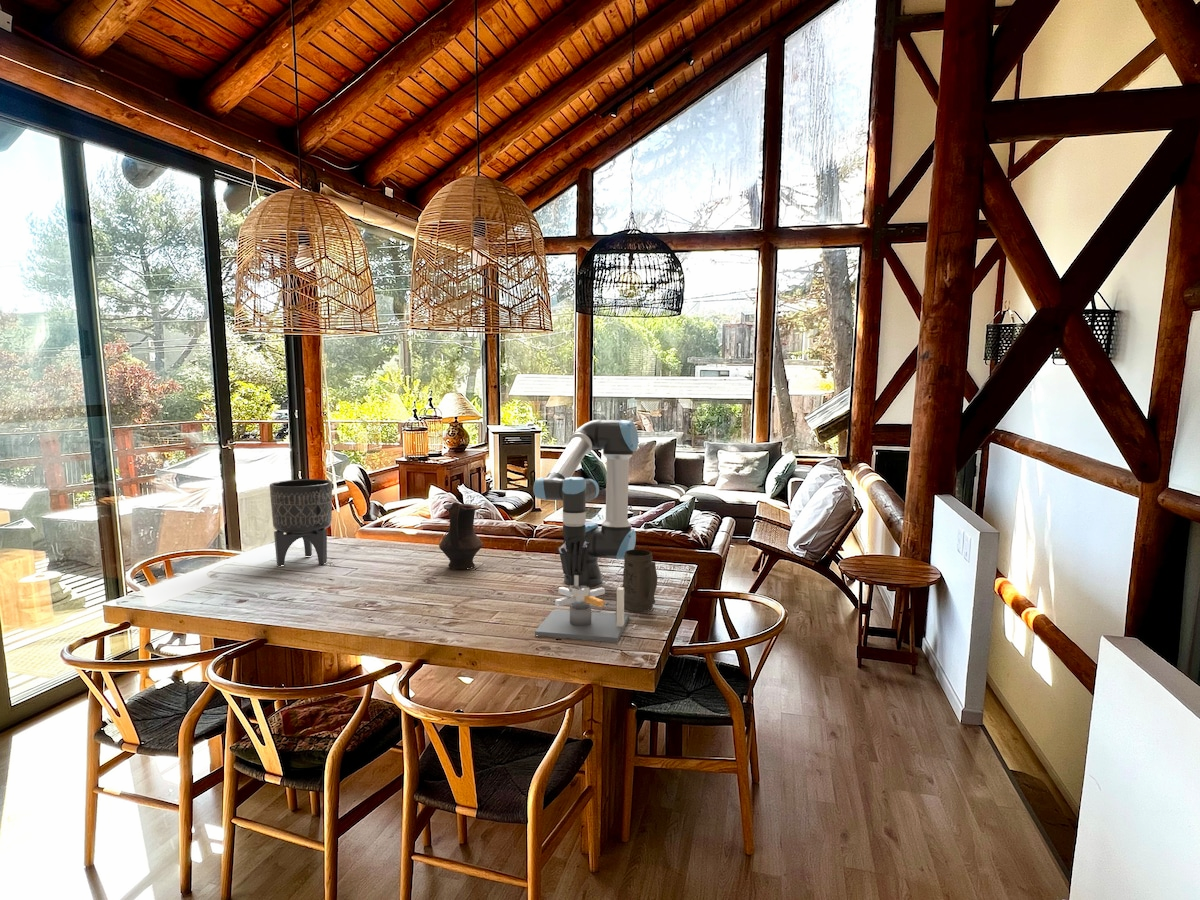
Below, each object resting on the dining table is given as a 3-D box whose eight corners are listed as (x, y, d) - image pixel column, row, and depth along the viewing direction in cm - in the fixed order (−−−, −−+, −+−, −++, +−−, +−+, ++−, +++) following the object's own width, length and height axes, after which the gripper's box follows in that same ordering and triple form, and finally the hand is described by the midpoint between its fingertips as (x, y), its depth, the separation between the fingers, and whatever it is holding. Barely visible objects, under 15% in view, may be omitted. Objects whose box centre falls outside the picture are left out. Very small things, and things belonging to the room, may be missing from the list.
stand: (553, 613, 233) (553, 574, 232) (628, 618, 228) (629, 579, 226) (534, 636, 211) (534, 593, 210) (617, 642, 206) (617, 599, 205)
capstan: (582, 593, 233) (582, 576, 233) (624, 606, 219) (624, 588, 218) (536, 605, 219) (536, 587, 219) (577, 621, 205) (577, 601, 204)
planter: (283, 573, 282) (280, 488, 279) (264, 561, 301) (261, 482, 298) (343, 563, 299) (341, 483, 296) (322, 552, 318) (319, 477, 314)
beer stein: (614, 605, 241) (617, 551, 238) (635, 599, 248) (638, 546, 246) (647, 619, 230) (650, 562, 227) (667, 611, 238) (671, 556, 235)
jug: (445, 561, 302) (444, 494, 300) (487, 562, 302) (486, 495, 299) (432, 574, 281) (430, 502, 279) (476, 574, 281) (475, 503, 278)
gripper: (581, 520, 231) (581, 588, 233) (551, 525, 222) (551, 595, 224) (596, 523, 226) (596, 592, 228) (566, 528, 217) (566, 600, 219)
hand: (574, 594), depth 226 cm, fingers closed
